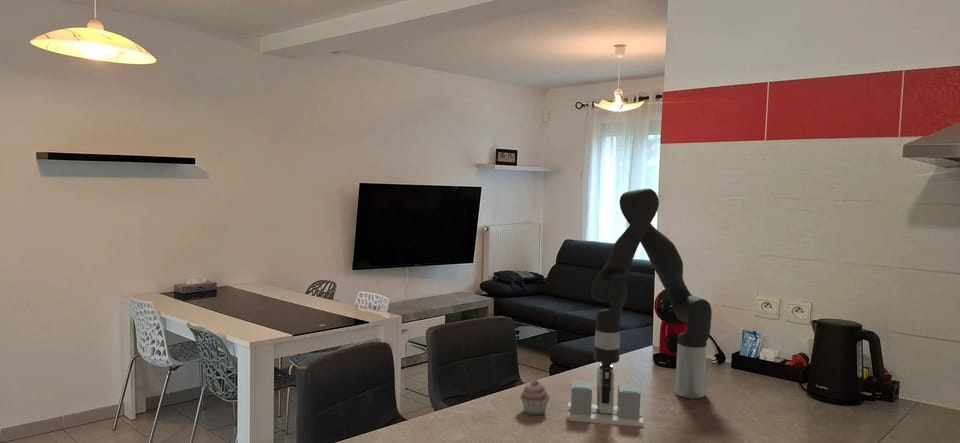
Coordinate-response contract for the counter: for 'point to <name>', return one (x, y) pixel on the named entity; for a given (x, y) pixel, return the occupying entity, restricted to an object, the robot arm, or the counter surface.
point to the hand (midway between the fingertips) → (605, 399)
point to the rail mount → (622, 413)
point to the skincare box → (602, 407)
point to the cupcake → (534, 398)
